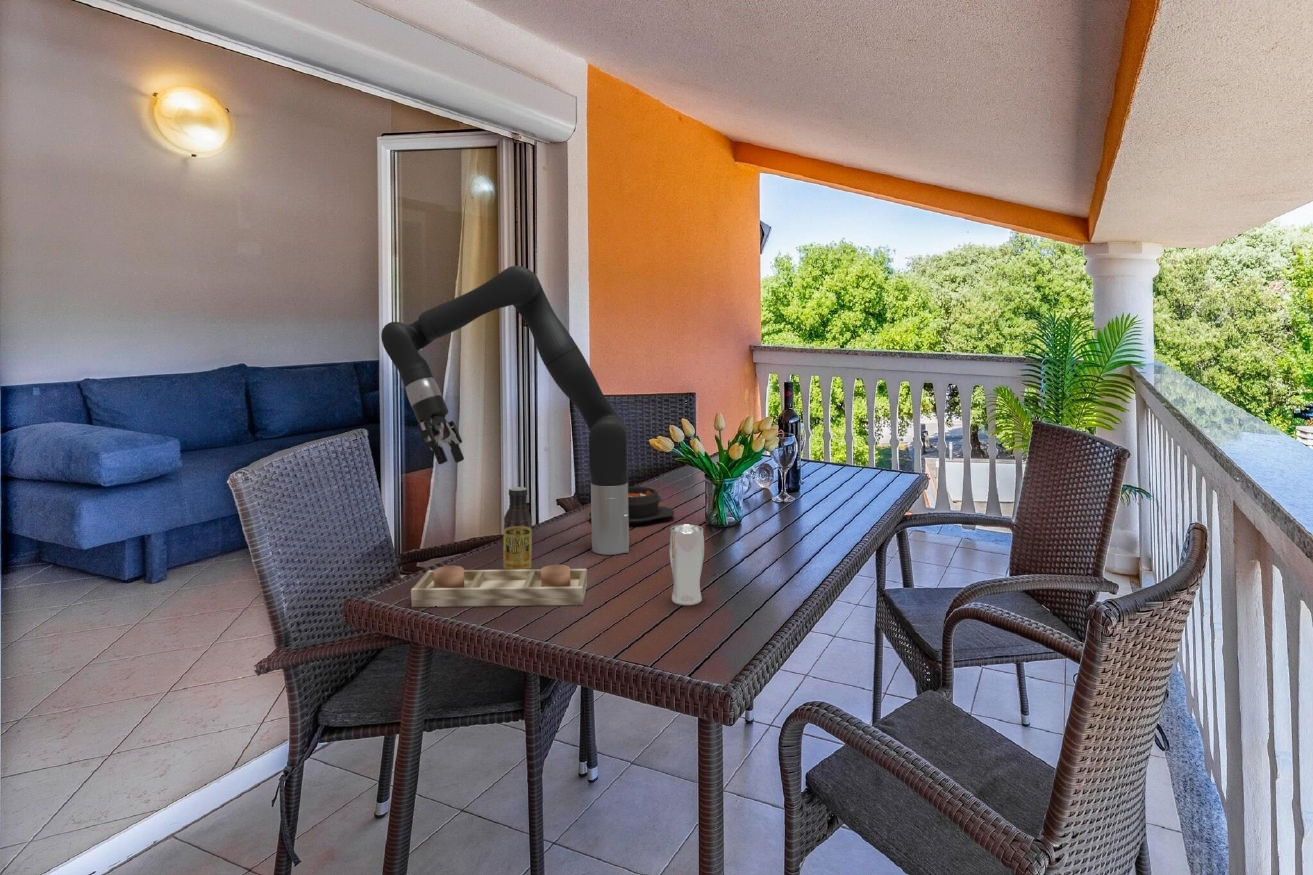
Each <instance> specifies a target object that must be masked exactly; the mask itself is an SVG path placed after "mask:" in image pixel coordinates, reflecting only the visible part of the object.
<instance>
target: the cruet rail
mask: <svg viewBox="0 0 1313 875" xmlns="http://www.w3.org/2000/svg"><path fill="white" fill-rule="evenodd" d="M587 587H588V570H587V568H571V567H570V566H569V565H565V564H550V565H546V566H543V567H541V569H540V568H539V569H537V568H535V569H534V568H533V569H532V568H531V569H520V570H504V569H464V567H462V566H460V565H445V566H444V565H443V566H441V567H437V568H435V569H434V570H431V569H430V570H427V571H426V573H425V574H424V575H423V576H422V577H421V578H420V579H419V580H418V582H417V583H416V584H415V585H414V586H413V587H411V589H410V595H411V596H410V598H411V607H412V608H420V607H421V608H425V607H427V608H428V607H430V608H431V607H432V608H433V607H435V606H437V608H439V607H441V608H442V607H443V608H444V607H514V606H515V607H518V606H522V607H525V606H528V607H529V606H584V600H585V597H586V590H587ZM435 608H436V607H435Z"/></svg>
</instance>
